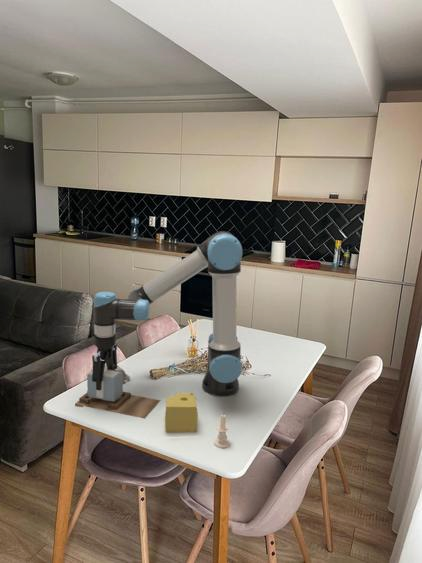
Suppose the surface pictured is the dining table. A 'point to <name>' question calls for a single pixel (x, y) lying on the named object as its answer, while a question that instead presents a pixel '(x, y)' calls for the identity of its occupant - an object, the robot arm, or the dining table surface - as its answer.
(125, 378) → the ceramic mug
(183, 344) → the dining table surface
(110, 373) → the pale blue block
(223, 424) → the chess piece
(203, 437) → the dining table surface
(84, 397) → the ledge board
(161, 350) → the dining table surface
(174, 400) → the cheese
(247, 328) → the dining table surface
